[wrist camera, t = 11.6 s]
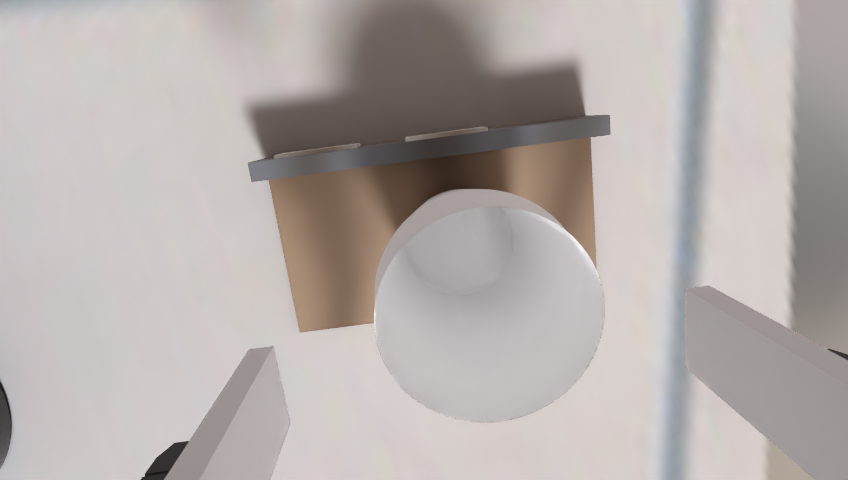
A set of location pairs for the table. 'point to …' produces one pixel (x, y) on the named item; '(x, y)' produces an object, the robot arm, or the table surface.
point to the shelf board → (412, 200)
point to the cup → (486, 306)
